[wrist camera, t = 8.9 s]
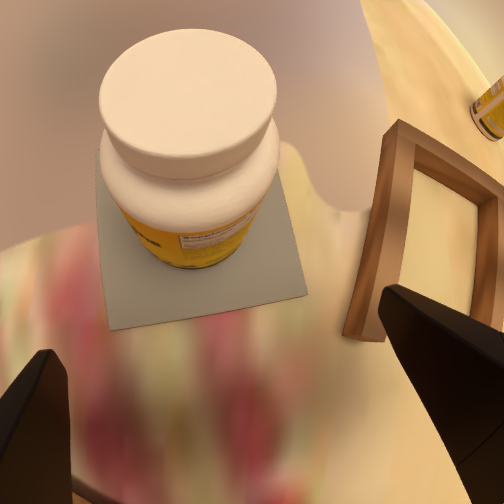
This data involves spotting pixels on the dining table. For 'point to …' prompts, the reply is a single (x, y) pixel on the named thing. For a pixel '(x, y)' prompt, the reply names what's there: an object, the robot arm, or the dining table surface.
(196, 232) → the pill bottle
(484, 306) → the open wooden u-frame
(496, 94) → the supplement bottle
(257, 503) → the dining table surface
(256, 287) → the coaster
